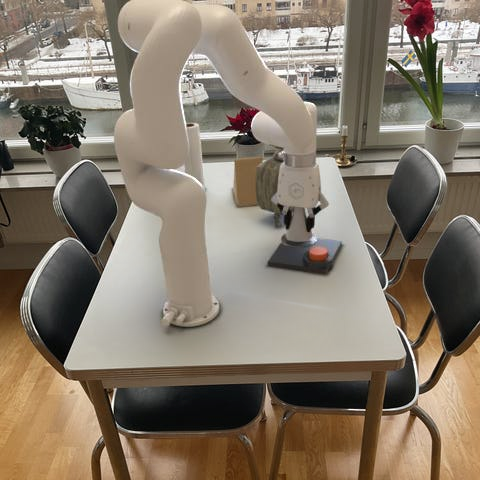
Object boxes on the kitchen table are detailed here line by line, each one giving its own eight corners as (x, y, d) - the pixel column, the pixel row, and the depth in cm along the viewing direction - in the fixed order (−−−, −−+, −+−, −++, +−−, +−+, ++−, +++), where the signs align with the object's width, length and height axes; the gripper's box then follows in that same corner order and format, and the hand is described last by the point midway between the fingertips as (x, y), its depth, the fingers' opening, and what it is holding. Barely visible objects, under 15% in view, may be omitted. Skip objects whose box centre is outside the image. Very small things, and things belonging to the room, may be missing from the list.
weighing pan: (311, 250, 134) (311, 248, 133) (276, 245, 137) (276, 244, 137) (321, 234, 141) (321, 232, 140) (287, 229, 144) (287, 228, 144)
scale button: (324, 262, 129) (324, 256, 128) (307, 260, 130) (307, 253, 129) (329, 254, 132) (329, 247, 131) (312, 251, 134) (312, 245, 133)
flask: (311, 243, 135) (312, 206, 129) (283, 242, 136) (282, 205, 130) (314, 230, 140) (315, 194, 135) (287, 229, 142) (286, 193, 136)
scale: (328, 275, 129) (329, 264, 127) (267, 266, 134) (267, 256, 132) (344, 245, 141) (344, 235, 139) (287, 238, 146) (287, 228, 144)
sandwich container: (257, 186, 179) (256, 141, 170) (264, 204, 166) (263, 156, 157) (232, 188, 178) (229, 143, 169) (237, 207, 166) (234, 159, 157)
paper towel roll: (194, 185, 182) (188, 121, 170) (208, 188, 179) (202, 123, 167) (181, 192, 178) (172, 127, 165) (195, 196, 175) (187, 129, 162)
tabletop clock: (278, 231, 150) (277, 141, 136) (254, 223, 155) (250, 136, 141) (309, 213, 159) (311, 127, 144) (285, 206, 164) (284, 122, 149)
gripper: (260, 161, 126) (263, 231, 137) (331, 166, 121) (328, 239, 131) (271, 151, 132) (272, 219, 143) (339, 155, 126) (335, 226, 137)
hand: (299, 228), depth 137 cm, fingers closed on flask, 4 cm apart
